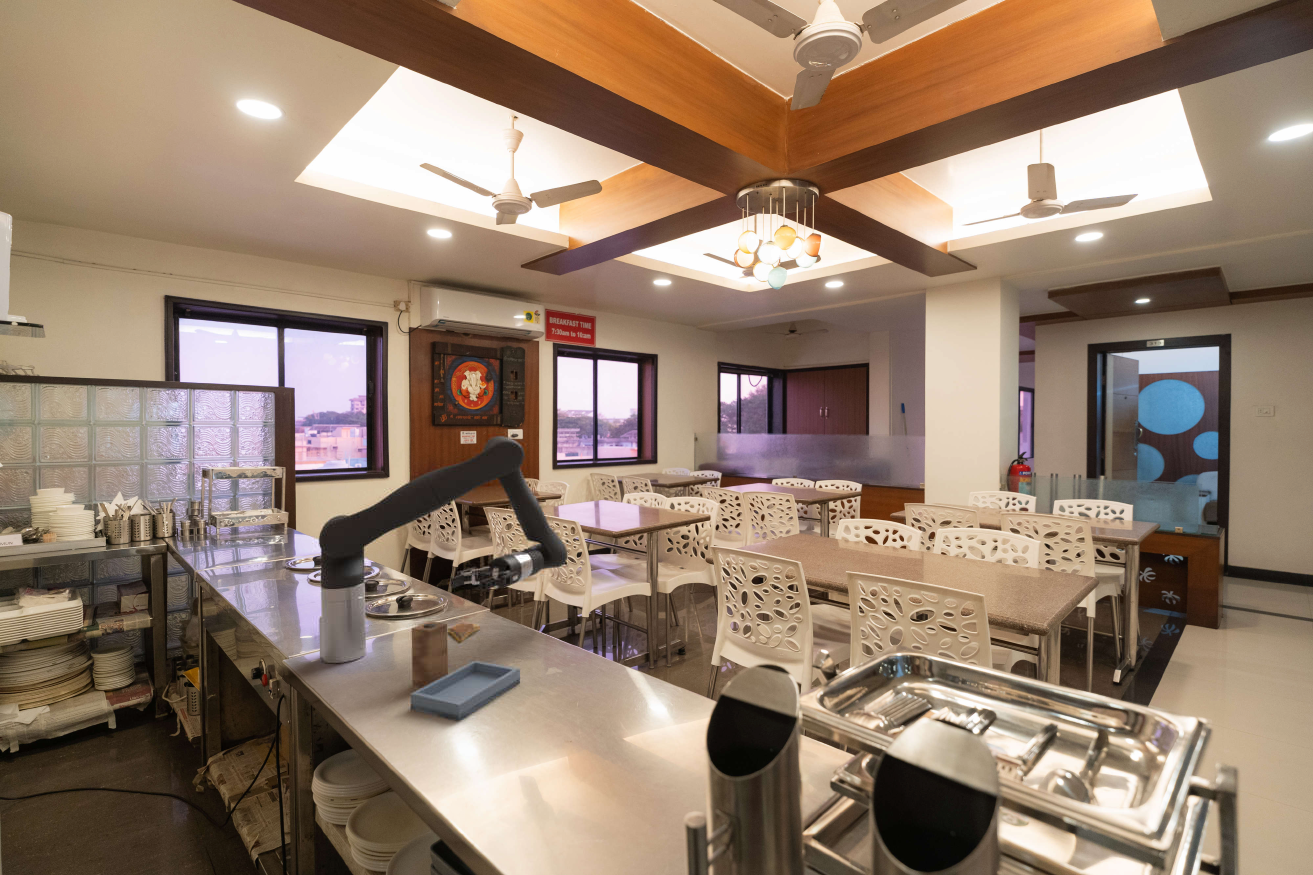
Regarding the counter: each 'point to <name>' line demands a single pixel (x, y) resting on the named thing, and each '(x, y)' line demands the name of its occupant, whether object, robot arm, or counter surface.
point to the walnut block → (429, 653)
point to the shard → (463, 630)
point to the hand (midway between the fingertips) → (466, 584)
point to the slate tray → (465, 690)
